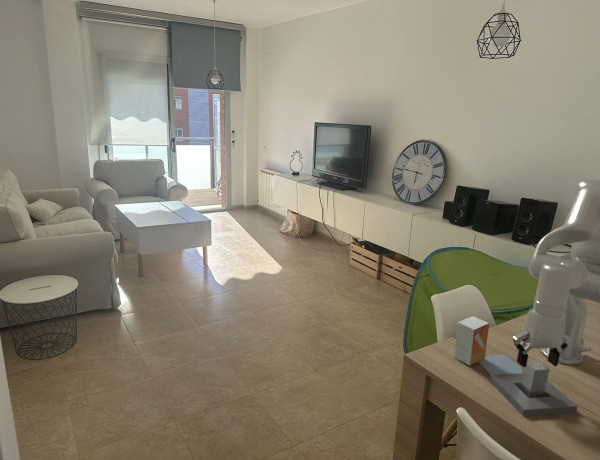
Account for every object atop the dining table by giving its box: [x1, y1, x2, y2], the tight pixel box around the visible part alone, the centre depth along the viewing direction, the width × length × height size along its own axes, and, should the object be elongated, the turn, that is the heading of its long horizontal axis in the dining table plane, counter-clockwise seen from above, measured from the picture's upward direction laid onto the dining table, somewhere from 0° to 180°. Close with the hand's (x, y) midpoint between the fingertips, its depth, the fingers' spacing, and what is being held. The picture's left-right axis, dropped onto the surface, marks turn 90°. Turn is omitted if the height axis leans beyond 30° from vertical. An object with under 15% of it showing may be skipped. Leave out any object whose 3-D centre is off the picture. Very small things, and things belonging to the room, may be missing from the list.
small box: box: [453, 315, 490, 366], centre depth 141 cm, size 8×6×13 cm
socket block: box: [488, 373, 578, 417], centre depth 124 cm, size 16×16×2 cm
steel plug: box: [519, 360, 551, 398], centre depth 123 cm, size 4×4×10 cm
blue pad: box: [477, 354, 523, 376], centre depth 139 cm, size 12×12×1 cm
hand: (536, 364), depth 122 cm, fingers open, 9 cm apart
